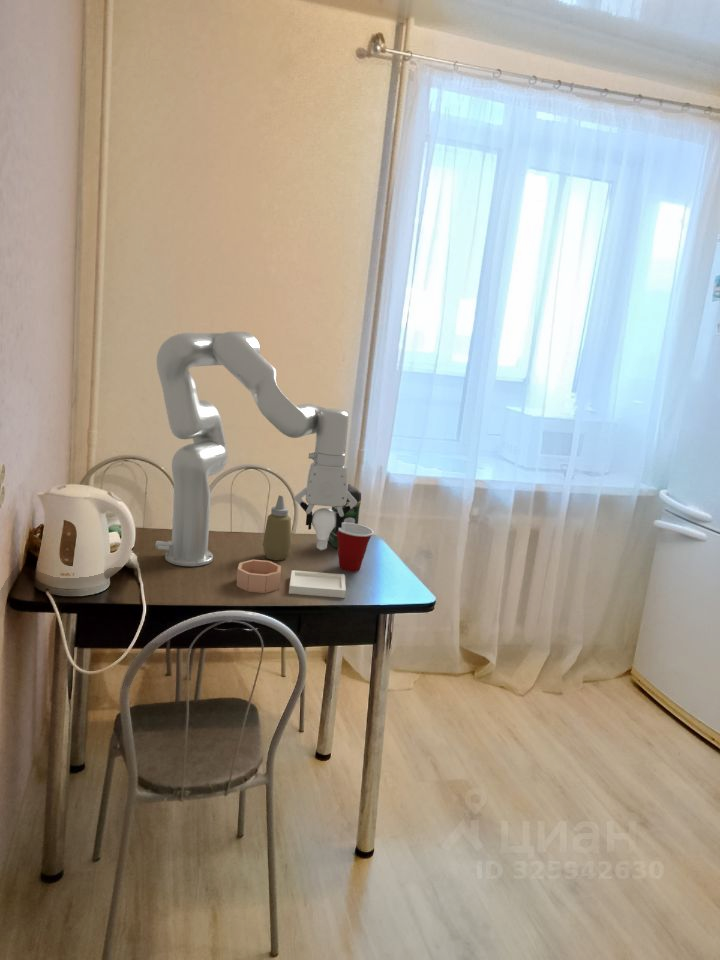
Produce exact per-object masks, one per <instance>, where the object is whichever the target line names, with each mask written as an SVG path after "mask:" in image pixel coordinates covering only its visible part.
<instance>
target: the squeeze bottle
mask: <svg viewBox="0 0 720 960" xmlns="http://www.w3.org/2000/svg"><path fill="white" fill-rule="evenodd" d="M291 519H292V518H291V516H290V515H289V508H287V507H285V501H284V495H283V494H281V495H278V497H277V501H276V504H275V506H272V507H271V512H270V514H269V515H267V519H266V524H265V528H264V529H265V530H264V536H263V541H262V547H263V553H264V555H265V557H266V558H267V559H270V560H271V561H272V560H273V561H283V560H286V559H287V557H288V555H289V553H290V550H291V548H292V520H291Z"/></svg>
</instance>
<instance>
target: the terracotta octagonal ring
mask: <svg viewBox="0 0 720 960" xmlns="http://www.w3.org/2000/svg"><path fill="white" fill-rule="evenodd" d="M281 574H282V566H281V565H280V564H278V563H276V562H274V561H272V560H264V559H263V560H260V559H249V560H246V561H241V562H239V564H238V567H237V571H236V586H237V587H238V588H239V589H242V590H244V591H246V592H250V593H260V594H261V593H264V594H266V593H269V592H273V591H276V590H279V588H280V583H281Z"/></svg>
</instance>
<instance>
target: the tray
mask: <svg viewBox="0 0 720 960" xmlns="http://www.w3.org/2000/svg"><path fill="white" fill-rule="evenodd" d="M288 588H289V589H288V594H290V595H291V594H293V595H305V596H315V597H316V596H318V597H330V598H342V599H345V598H346V591H347V588H346V574H344V573H329V572H319V571H307V570H306V571H304V570H296V569H294V570H291V574H290V581H289V587H288Z"/></svg>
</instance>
